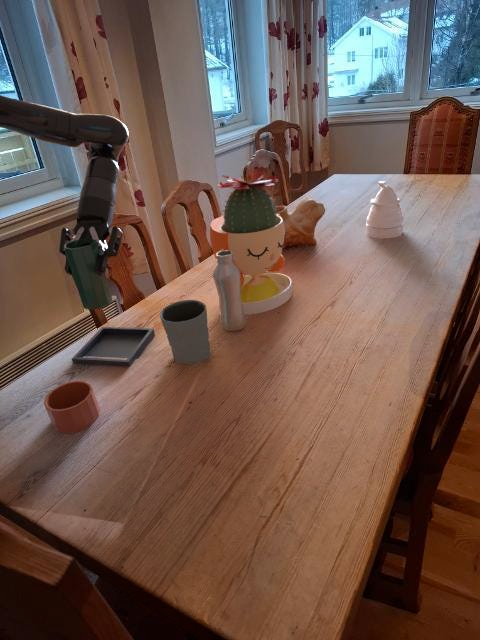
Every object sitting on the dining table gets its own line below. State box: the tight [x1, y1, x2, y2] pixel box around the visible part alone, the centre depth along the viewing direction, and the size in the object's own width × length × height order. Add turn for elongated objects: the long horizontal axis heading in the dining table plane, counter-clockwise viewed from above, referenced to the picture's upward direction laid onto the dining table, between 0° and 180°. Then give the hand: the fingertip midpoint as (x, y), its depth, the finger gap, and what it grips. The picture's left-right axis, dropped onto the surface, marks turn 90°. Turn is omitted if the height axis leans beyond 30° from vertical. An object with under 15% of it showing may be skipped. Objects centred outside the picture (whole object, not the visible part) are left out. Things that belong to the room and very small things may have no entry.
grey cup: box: [159, 299, 212, 365], centre depth 96 cm, size 10×10×12 cm
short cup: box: [43, 380, 101, 434], centre depth 82 cm, size 9×9×6 cm
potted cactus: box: [209, 165, 293, 315], centre depth 115 cm, size 22×22×35 cm
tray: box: [71, 326, 156, 368], centre depth 105 cm, size 15×15×2 cm
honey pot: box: [365, 180, 405, 239], centre depth 153 cm, size 13×13×18 cm
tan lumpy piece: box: [275, 197, 326, 251], centre depth 154 cm, size 14×26×15 cm, turn 103°
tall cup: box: [64, 238, 113, 311], centre depth 93 cm, size 6×7×14 cm
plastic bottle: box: [212, 251, 247, 332], centre depth 104 cm, size 6×7×20 cm
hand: (84, 273), depth 91 cm, fingers closed on tall cup, 6 cm apart
